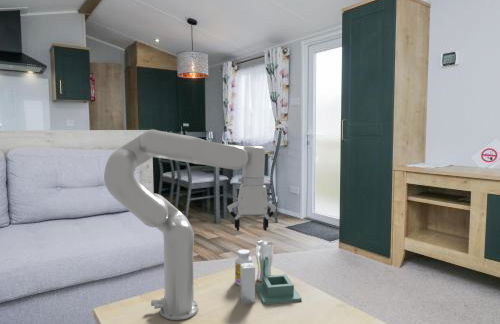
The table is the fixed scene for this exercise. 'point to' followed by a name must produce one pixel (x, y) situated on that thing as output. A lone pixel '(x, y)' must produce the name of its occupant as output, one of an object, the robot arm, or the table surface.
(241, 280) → the silver square block
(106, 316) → the table surface
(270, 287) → the well
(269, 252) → the beer glass
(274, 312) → the table surface
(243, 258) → the supplement bottle
